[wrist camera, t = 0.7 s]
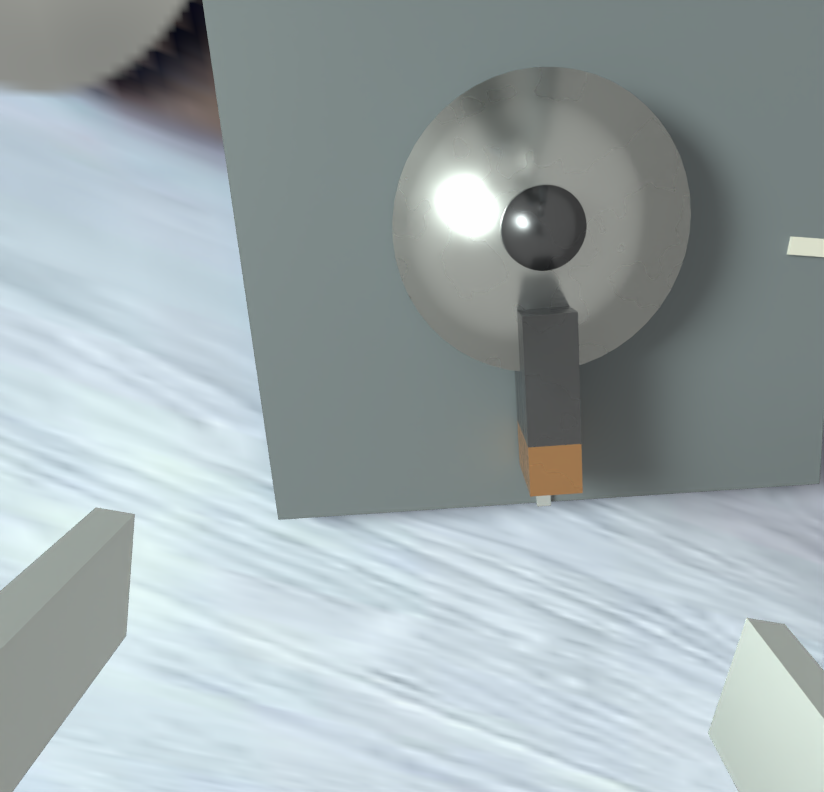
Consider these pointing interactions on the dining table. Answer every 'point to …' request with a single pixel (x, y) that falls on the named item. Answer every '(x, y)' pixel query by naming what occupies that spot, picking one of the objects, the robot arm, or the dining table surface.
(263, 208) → the dial board
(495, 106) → the dial
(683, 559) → the dining table surface
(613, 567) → the dining table surface
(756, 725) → the robot arm
